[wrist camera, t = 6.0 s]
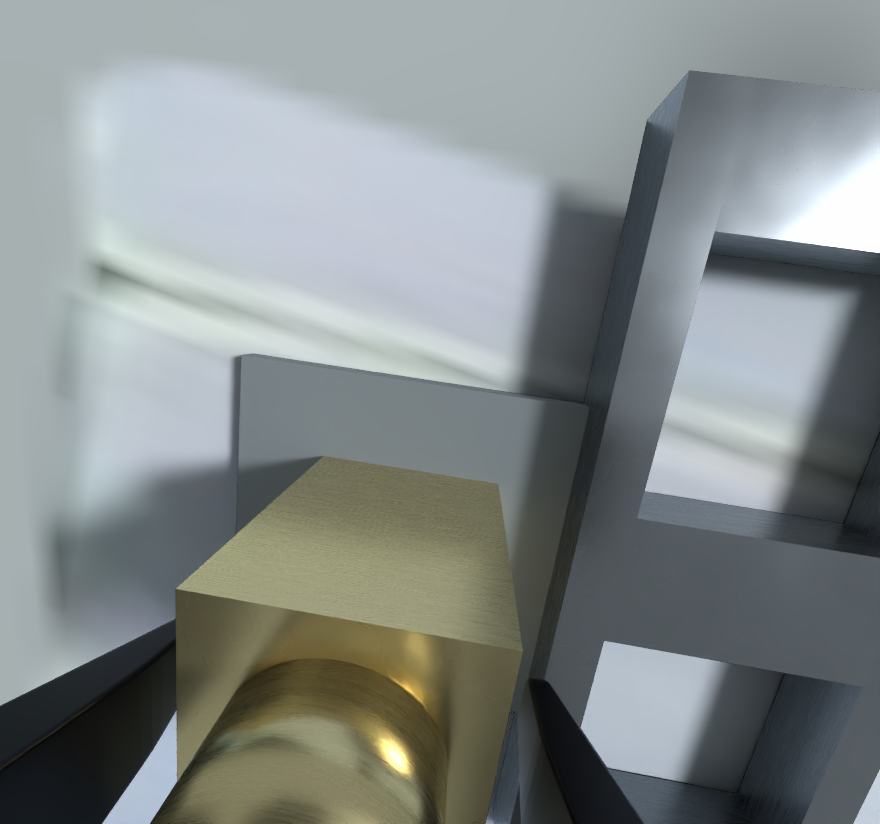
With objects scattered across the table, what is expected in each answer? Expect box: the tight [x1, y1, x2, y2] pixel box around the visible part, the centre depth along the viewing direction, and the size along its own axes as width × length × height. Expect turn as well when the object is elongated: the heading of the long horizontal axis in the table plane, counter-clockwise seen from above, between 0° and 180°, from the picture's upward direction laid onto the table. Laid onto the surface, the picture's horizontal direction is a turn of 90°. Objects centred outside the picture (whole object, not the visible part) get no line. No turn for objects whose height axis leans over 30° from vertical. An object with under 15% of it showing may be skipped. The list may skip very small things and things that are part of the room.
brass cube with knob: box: [150, 456, 523, 824], centre depth 8 cm, size 5×5×8 cm
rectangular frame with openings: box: [493, 71, 880, 824], centre depth 11 cm, size 22×9×2 cm, turn 172°
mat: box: [236, 354, 590, 712], centre depth 13 cm, size 10×10×1 cm
